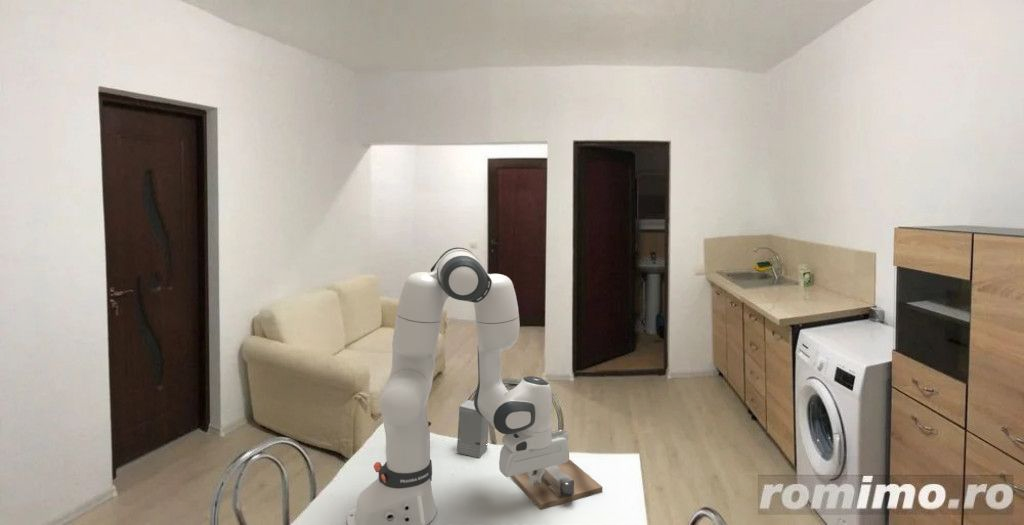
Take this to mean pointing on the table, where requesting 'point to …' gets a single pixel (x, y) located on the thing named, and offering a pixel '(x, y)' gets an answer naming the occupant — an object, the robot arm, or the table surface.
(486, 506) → the table surface
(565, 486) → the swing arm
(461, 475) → the table surface
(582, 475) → the label board
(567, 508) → the table surface
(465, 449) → the skincare box
